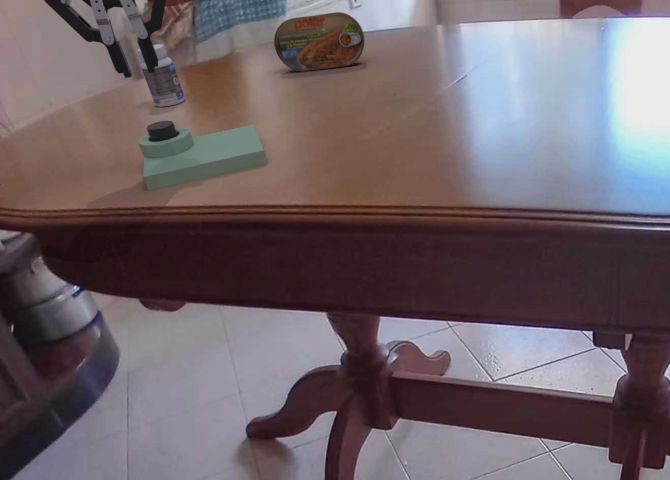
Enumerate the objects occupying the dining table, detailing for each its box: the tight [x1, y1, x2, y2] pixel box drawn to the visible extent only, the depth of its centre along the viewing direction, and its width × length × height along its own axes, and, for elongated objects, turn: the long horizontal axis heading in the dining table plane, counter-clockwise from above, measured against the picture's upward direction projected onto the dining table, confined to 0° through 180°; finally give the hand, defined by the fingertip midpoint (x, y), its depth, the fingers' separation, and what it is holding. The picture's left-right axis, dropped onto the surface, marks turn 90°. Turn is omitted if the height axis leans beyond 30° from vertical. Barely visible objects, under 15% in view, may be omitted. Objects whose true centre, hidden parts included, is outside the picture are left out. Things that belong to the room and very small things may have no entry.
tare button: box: [146, 120, 178, 142], centre depth 87 cm, size 3×3×2 cm
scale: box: [137, 124, 269, 192], centre depth 87 cm, size 14×12×4 cm
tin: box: [273, 11, 365, 73], centre depth 118 cm, size 15×3×8 cm, turn 92°
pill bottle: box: [137, 43, 186, 108], centre depth 110 cm, size 5×5×8 cm
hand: (140, 73), depth 83 cm, fingers closed
